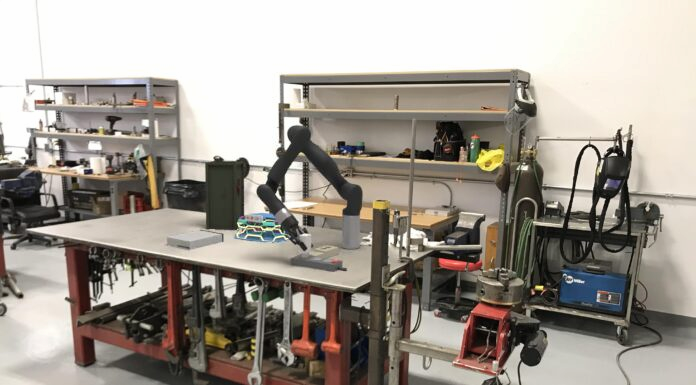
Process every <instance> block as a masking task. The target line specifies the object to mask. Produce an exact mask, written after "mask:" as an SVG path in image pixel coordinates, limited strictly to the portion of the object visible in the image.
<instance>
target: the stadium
mask: <svg viewBox="0 0 696 385" xmlns="http://www.w3.org/2000/svg"><path fill="white" fill-rule="evenodd" d="M243 217H244V218H243ZM242 218H243V220H242ZM237 223H238V230H236V233H235V235H234V237H233V239H235V240H241V241H248V242H255V243H258V242H259V243H267V242H272V243H271V244H275V243H274V242H277V243H282V242H281V241H284V242H288V241H287V240H289V239H288V238H287V237H286V235H287V234H288V232H285V231H284V229H283V228H282V227H281V226H280V224H279V223H278V222H277V220H276V218H275V217H274V216H273V214H272V213H271V212H269V213H268V212H256V213H255V212H254V213H247V214H245V213H244V216H241V217H239V220H238V222H237ZM240 225H242V227H241V226H240ZM240 229H241V232H240ZM291 238H292V237H291Z"/></svg>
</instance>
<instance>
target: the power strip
mask: <svg viewBox="0 0 696 385" xmlns="http://www.w3.org/2000/svg"><path fill="white" fill-rule="evenodd" d="M290 265H292V266H297V267H303V268H309V269H310V268H311V269H317V270H323V271H327V272H334V273H335V272H336V271H338V270H339V271H345V272H347V270H348V268H347V267H343V260H341V259H336V258H335V259H334V258H322V257H315V256H309V258H308V259H301V253H299V254H297V255H295V256H293V257H291V258H290Z"/></svg>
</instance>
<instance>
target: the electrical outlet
mask: <svg viewBox="0 0 696 385" xmlns="http://www.w3.org/2000/svg"><path fill="white" fill-rule="evenodd" d="M337 255H339V247H338V246H333V245H328V244H326V245H323V246H319V247H315V248H313V250H311V252H309V256H315V257H322V258H328V259H330V258H331V257H334V256H337Z"/></svg>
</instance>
